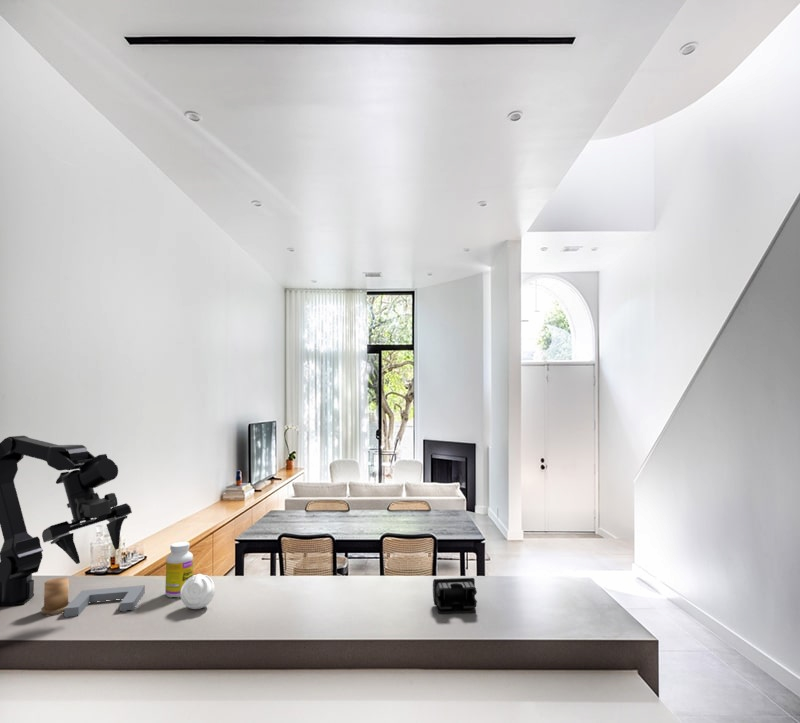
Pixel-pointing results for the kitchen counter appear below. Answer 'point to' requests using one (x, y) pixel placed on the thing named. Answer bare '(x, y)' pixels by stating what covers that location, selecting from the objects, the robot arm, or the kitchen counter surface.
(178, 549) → the supplement bottle
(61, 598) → the wooden drawer knob
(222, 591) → the kitchen counter surface
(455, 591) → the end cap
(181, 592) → the white rounded piece
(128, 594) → the notched board
